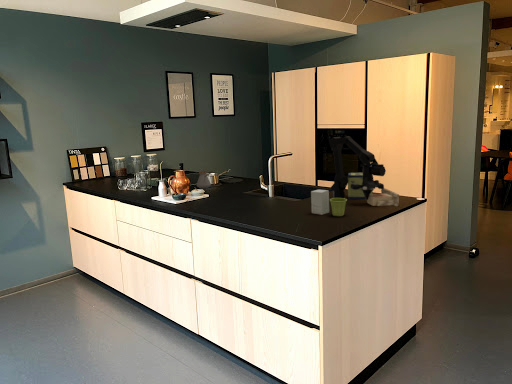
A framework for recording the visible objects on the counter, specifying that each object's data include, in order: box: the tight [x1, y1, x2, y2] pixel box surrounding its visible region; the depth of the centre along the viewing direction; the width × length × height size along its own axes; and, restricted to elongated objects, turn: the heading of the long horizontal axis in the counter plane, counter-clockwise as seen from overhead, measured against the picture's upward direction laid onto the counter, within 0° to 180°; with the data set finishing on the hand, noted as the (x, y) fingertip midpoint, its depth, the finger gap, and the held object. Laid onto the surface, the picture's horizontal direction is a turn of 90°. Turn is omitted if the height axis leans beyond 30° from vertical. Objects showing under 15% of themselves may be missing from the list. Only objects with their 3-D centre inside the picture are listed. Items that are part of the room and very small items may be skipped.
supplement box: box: [310, 189, 330, 216], centre depth 235 cm, size 7×7×13 cm
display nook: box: [376, 187, 400, 207], centre depth 253 cm, size 11×22×7 cm, turn 6°
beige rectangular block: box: [366, 193, 393, 207], centre depth 251 cm, size 12×9×5 cm
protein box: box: [347, 172, 374, 200], centre depth 271 cm, size 10×16×16 cm
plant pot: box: [329, 197, 348, 217], centre depth 228 cm, size 9×9×9 cm
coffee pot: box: [196, 170, 215, 190], centre depth 331 cm, size 21×12×15 cm, turn 38°
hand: (366, 200), depth 252 cm, fingers closed
